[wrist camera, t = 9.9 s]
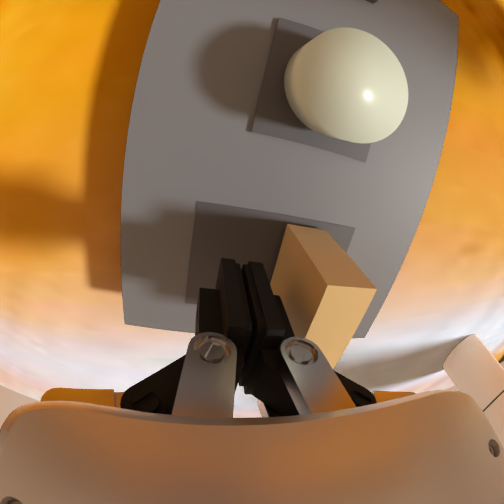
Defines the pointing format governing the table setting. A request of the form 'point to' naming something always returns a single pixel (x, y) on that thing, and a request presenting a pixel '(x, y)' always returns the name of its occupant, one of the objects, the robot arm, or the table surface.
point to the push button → (347, 86)
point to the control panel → (269, 148)
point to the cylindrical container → (479, 379)
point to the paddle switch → (320, 289)
